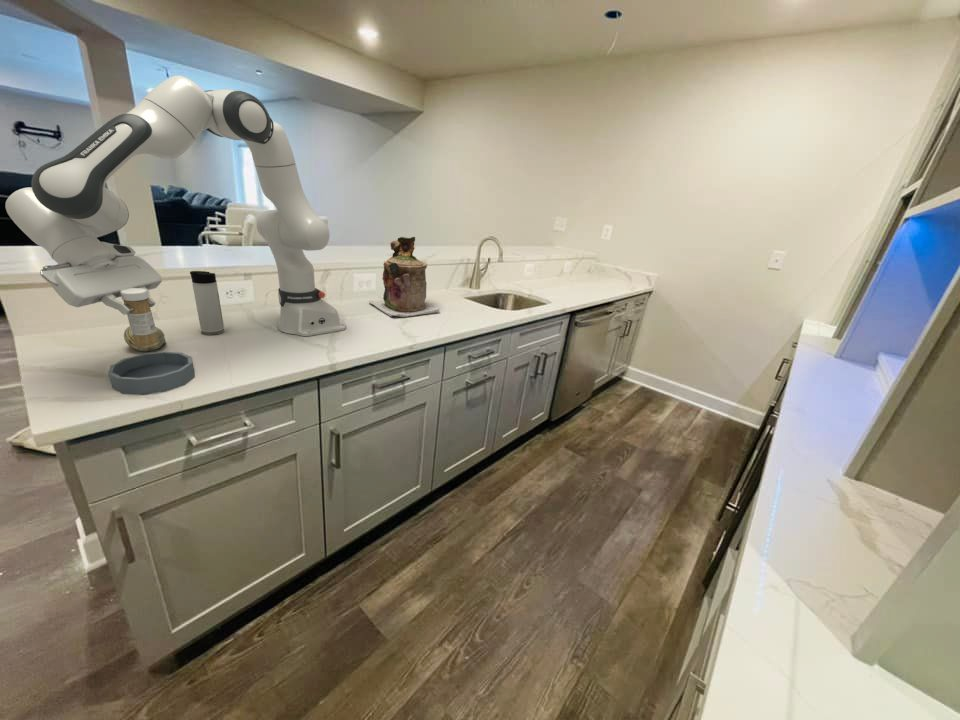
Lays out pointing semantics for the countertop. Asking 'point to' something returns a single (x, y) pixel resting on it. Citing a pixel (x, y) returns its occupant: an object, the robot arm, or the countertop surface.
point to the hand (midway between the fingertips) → (140, 309)
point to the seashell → (130, 341)
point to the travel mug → (207, 302)
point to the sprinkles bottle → (140, 317)
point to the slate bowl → (151, 373)
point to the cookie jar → (404, 282)
